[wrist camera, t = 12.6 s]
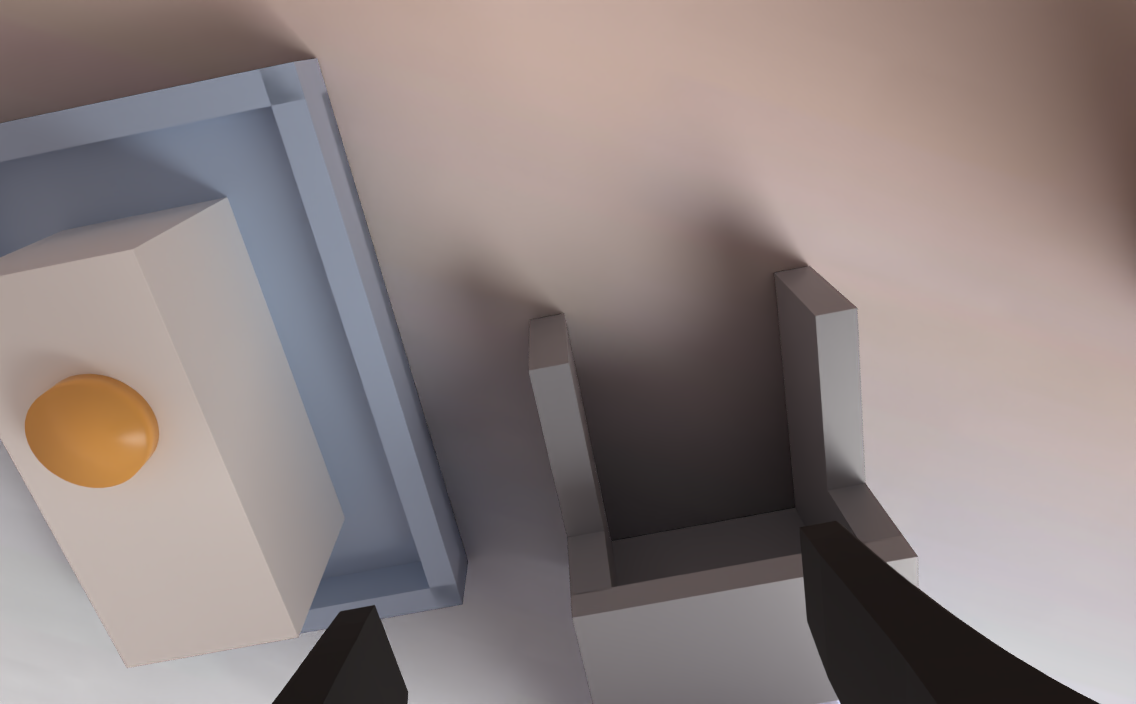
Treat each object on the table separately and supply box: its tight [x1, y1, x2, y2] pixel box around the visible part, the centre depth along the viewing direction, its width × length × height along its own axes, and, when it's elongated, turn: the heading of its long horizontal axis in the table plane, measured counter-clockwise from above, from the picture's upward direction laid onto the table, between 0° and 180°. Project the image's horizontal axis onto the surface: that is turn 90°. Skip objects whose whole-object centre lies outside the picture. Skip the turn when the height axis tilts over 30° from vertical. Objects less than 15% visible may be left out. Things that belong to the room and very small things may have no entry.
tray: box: [0, 58, 468, 633], centre depth 21 cm, size 16×11×2 cm
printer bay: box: [528, 266, 918, 704], centre depth 21 cm, size 9×8×6 cm
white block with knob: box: [0, 197, 345, 668], centre depth 19 cm, size 10×4×6 cm, turn 11°
